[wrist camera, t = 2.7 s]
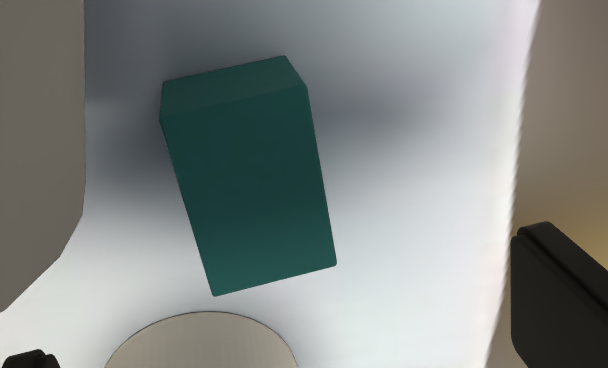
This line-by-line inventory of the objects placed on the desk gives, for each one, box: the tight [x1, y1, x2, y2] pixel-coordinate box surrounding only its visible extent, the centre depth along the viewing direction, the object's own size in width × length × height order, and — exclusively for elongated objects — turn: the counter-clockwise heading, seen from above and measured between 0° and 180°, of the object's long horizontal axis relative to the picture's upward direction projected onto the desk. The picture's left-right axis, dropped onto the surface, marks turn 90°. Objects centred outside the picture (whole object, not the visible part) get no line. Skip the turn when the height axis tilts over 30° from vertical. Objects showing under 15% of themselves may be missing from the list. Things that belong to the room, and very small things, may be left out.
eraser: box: [159, 56, 337, 296], centre depth 18 cm, size 6×4×4 cm, turn 10°
